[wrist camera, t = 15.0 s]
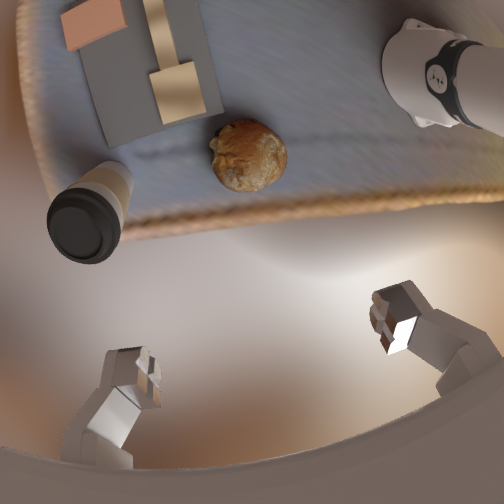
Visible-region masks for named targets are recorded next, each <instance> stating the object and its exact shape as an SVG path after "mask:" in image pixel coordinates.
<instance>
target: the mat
mask: <svg viewBox="0 0 504 504" xmlns="http://www.w3.org/2000/svg"><path fill="white" fill-rule="evenodd" d="M86 1H88V0H79V1H77V2H75V3H73V4H71V5H70V9H73V8H75V7H77V6H78V5H80V4H82V3H84V2H86ZM122 1H123V6H124V10H125V15H126V19H127V23H128V27H126V28H123V29H121V30H118V31H116V32H113V33H111V34H109V35H106V36H104V37H102V38H100V39H98V40H95V41H93V42H91V43H89V44H87V45H85V46H83V47H81V48H79V51H80V55H81V59H82V63H83V66H84V70H85V74H86V77H87V81H88V84H89V88H90V91H91V95H92V98H93V101H94V104H95V108H96V111H97V114H98V117H99V120H100V123H101V126H102V129H103V132H104V135H105V138H106V141H107V143H108V146H109V149H112V148H114V147H117V146H119V145H122V144H125V143H127V142H130V141H133V140H135V139H138V138H141V137H144V136H147V135H150V134H153V133H156V132H159V131H162V130H165V129H168V128H171V127H174V126H178V125H181V124H184V123H188V122H191V121H195V120H198V119H202V118H206V117H209V116H213V115H217V114H221V113H225V112H224V108H223V104H222V100H221V96H220V92H219V88H218V83H217V79H216V75H215V71H214V67H213V63H212V59H211V55H210V51H209V47H208V43H207V38H206V34H205V30H204V26H203V22H202V18H201V14H200V10H199V6H198V2H197V0H164V3H165V7H166V11H167V15H168V19H169V23H170V27H171V31H172V35H173V39H174V43H175V47H176V51H177V55H178V59H179V63H180V65H181V64H185V63H188V62H192V61H194V65H195V69H196V73H197V77H198V81H199V85H200V89H201V93H202V97H203V101H204V105H205V109H206V112H205V113H201V114H197V115H194V116H190V117H187V118H183V119H180V120H177V121H173V122H170V123H167V124H164V125H163V122H162V118H161V115H160V112H159V108H158V105H157V101H156V98H155V94H154V91H153V87H152V84H151V80H150V76H149V75H150V74H153V73H156V72H159V71H162V70H160V67H159V64H158V60H157V56H156V52H155V48H154V44H153V40H152V36H151V32H150V28H149V24H148V20H147V16H146V12H145V7H144V3H143V0H122Z"/></svg>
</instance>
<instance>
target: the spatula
mask: <svg viewBox="0 0 504 504" xmlns="http://www.w3.org/2000/svg"><path fill="white" fill-rule="evenodd" d="M143 3H144V7H145V12H146V16H147V20H148V24H149V28H150V32H151V36H152V40H153V44H154V48H155V52H156V56H157V60H158V64H159V67H160V70H162V71H159V72H156V73H153V74H150V75H149V76H150V80H151V84H152V87H153V91H154V94H155V98H156V101H157V105H158V108H159V112H160V115H161V118H162V122H163V125H164V124H167V123H170V122H173V121H177V120H180V119H183V118H187V117H190V116H194V115H197V114H201V113H205V112H206V109H205V105H204V101H203V97H202V93H201V89H200V85H199V81H198V77H197V73H196V69H195V65H194V61H192V62H188V63H185V64H181V65H180V63H179V59H178V55H177V51H176V47H175V43H174V39H173V35H172V31H171V27H170V23H169V19H168V15H167V11H166V7H165V3H164V0H143Z"/></svg>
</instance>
